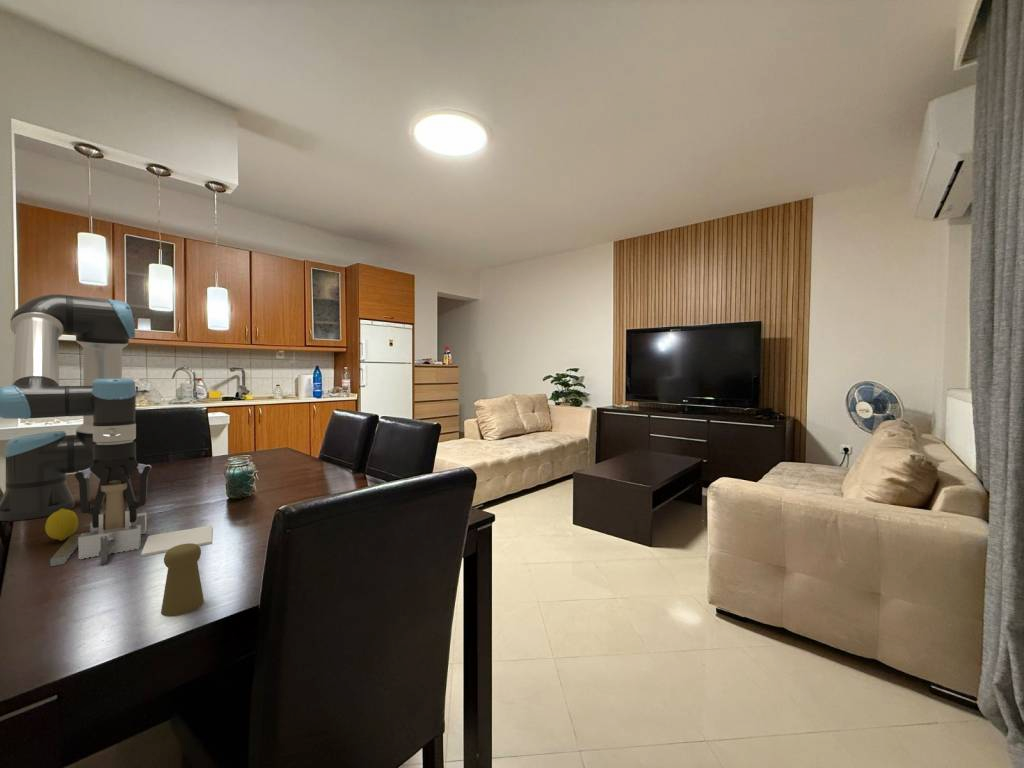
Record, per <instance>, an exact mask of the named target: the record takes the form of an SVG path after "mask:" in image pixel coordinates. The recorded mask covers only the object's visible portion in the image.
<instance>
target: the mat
mask: <svg viewBox="0 0 1024 768" xmlns="http://www.w3.org/2000/svg"><path fill="white" fill-rule="evenodd" d="M212 540H213V524H212V525H207V526H206V525H204V526H201V527H194V528H188V529H183V530H182V529H181V530H175V531H168V532H164V533H156V534H151V535H148V536H147V538H146V541H145V543H144V545H143V548H142V551H141V553H140V557H148V556H153V555H158V554H163V553H165V554H166V552H167V551H168V550H169V549H171V548H173V547H175V546H178V545H181V544H188V543H193V544H197V545H198V546H199V547H203V546H208V545H212V544H213V541H212ZM207 544H208V545H207Z"/></svg>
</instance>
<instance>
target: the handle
mask: <svg viewBox="0 0 1024 768" xmlns="http://www.w3.org/2000/svg"><path fill="white" fill-rule="evenodd" d="M125 489H127V483H124V484H122V483H121V480H120V481H118V480H113V481H110V482H109V483H108V484H107V485H105V486H101V491H102V492H105V493H106V494H105V505H104V506H105V508H104V511H105V517H104V530H107V529H113V528H120V527H125V511H126V509H127V508H126V496H125V492H124V490H125Z"/></svg>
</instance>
